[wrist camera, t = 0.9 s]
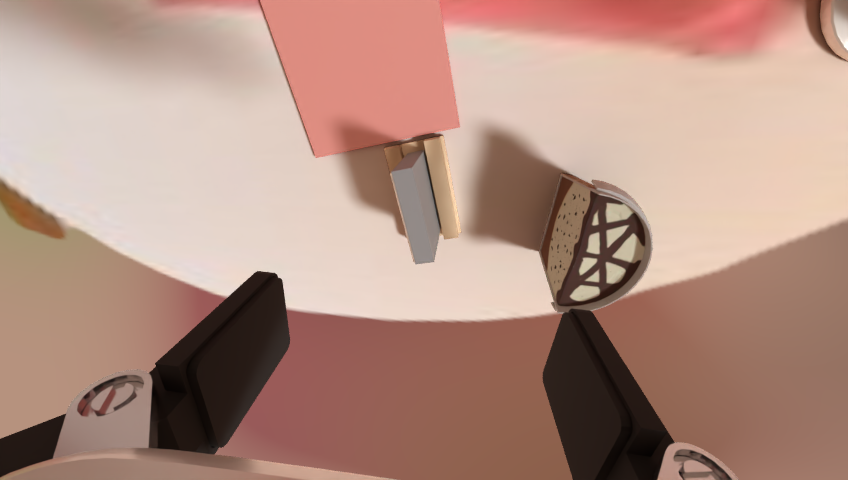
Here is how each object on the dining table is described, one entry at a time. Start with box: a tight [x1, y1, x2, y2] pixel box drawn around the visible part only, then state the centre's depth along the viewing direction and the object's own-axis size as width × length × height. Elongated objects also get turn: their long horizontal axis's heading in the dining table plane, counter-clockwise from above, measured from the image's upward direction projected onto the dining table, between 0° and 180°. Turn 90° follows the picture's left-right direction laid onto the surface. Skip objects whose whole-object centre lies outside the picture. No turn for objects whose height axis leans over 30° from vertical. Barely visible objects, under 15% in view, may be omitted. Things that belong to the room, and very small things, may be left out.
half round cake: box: [539, 173, 652, 313], centre depth 30 cm, size 12×6×10 cm, turn 175°
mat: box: [260, 0, 460, 158], centre depth 29 cm, size 16×20×1 cm
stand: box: [384, 135, 461, 239], centre depth 35 cm, size 6×11×2 cm, turn 12°
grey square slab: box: [390, 150, 441, 264], centre depth 32 cm, size 2×9×8 cm, turn 13°
